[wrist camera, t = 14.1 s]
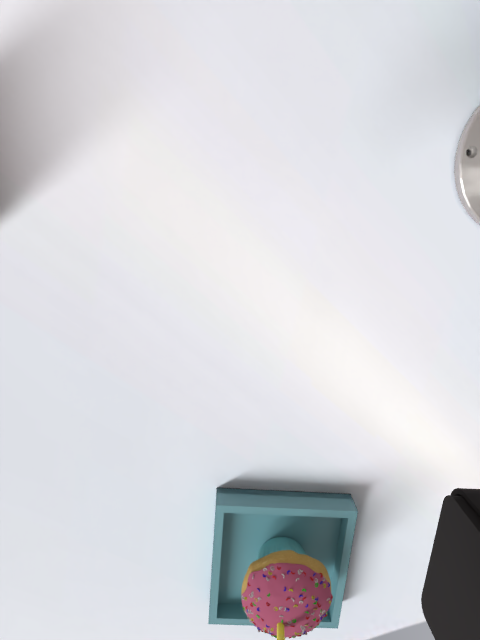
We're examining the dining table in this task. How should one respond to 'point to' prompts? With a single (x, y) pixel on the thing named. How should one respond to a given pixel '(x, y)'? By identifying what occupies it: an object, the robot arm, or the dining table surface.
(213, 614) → the tray
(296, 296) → the dining table surface
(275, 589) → the cupcake
